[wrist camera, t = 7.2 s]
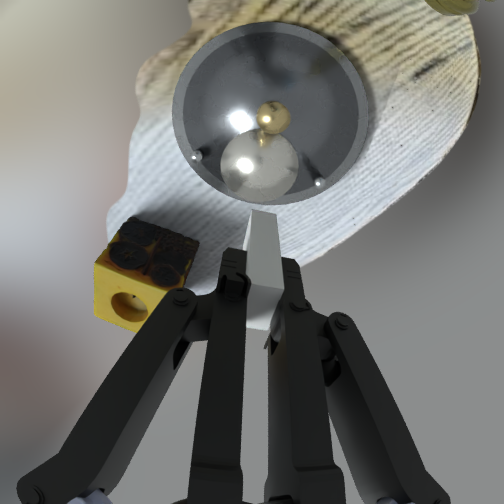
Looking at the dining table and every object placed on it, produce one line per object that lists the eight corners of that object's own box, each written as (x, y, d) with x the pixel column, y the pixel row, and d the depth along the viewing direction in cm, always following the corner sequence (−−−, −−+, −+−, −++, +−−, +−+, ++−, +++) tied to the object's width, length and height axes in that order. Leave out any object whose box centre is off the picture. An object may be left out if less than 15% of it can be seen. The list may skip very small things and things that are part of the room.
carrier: (195, 13, 18) (185, 3, 15) (383, 60, 20) (401, 59, 17) (166, 183, 30) (154, 197, 26) (332, 216, 32) (340, 234, 28)
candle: (201, 240, 34) (184, 295, 26) (181, 291, 40) (166, 345, 32) (129, 213, 32) (93, 259, 24) (120, 268, 37) (93, 317, 29)
